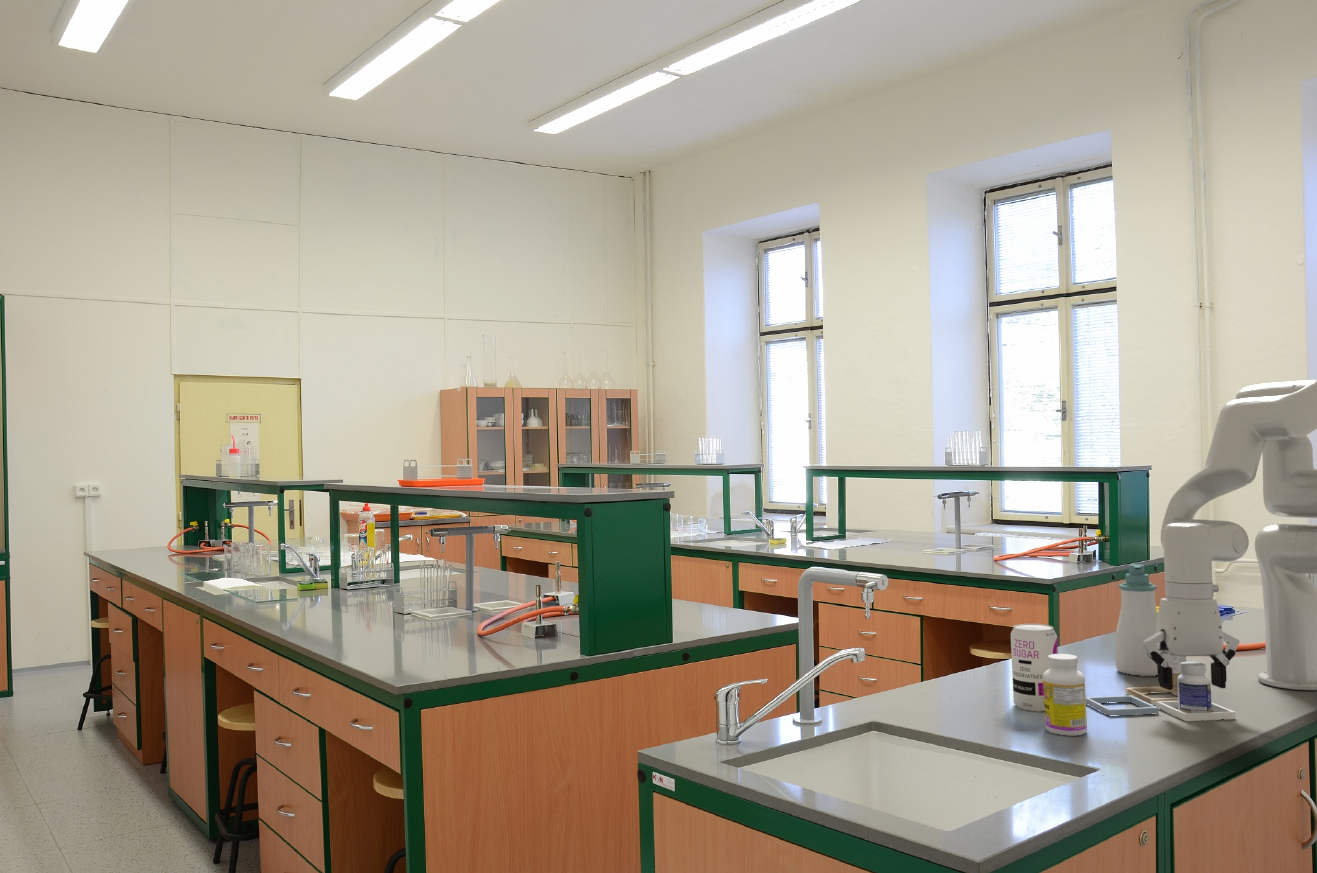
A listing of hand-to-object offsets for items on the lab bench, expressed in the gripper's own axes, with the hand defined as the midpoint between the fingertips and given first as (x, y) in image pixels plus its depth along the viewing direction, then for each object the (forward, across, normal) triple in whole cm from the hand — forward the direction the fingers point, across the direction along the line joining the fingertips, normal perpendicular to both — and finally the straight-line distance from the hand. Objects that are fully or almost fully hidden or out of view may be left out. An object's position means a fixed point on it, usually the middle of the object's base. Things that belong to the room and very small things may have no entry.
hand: (1192, 687), depth 172 cm
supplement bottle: (+6, +26, +7) cm, 28 cm away
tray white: (+5, 0, 0) cm, 5 cm away
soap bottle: (+4, -8, -32) cm, 34 cm away
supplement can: (+5, +24, -9) cm, 27 cm away
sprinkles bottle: (+5, -8, -18) cm, 20 cm away
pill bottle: (+5, 0, 0) cm, 5 cm away
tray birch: (+5, 0, -11) cm, 12 cm away
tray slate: (+5, +10, -5) cm, 13 cm away
